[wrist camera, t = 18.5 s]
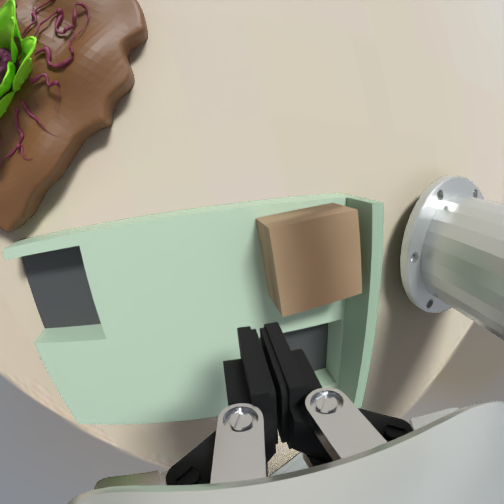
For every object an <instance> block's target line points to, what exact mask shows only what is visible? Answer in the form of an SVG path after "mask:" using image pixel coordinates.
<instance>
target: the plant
mask: <svg viewBox="0 0 504 504" xmlns="http://www.w3.org/2000/svg"><path fill="white" fill-rule="evenodd" d="M147 38H148V31H147V25H146V21H145V18H144V14H143V12H142V9H141V7H140V5H139V3H138V2H137V0H0V227H1V228H2V229H3V230H5V231H6V232H9V231H12V230H15V229H18V228H20V227H21V226H22V225H23V224H24V223H25V222H26V221H27V220H28V219H29V218H31V217H32V216H33V215H34V214H35V213H36V211H37V209H38V208H39V205H40V203H41V201H42V199H43V197H44V195H45V194H46V192H47V191H48V189H49V188H50V187H51V186H52V185H53V184H54V183H55V182H56V181H57V180H59V179H60V178H61V177H62V175H63V174H64V173H65V171H66V170H67V168H68V167H69V165H70V163H71V162H72V160H73V158H74V157H75V155H76V154H77V152H78V151H79V149H80V148H81V146H82V145H83V143H84V142H85V141H86V140H87V139H88V138H89V137H90V136H91V135H93V134H94V133H96V132H98V131H99V130H101V129H104V128H106V127H109V126H111V125H112V124H113V111H114V107H115V106H116V104H117V102H118V101H119V100H120V99H121V98H122V97H123V96H124V95H125V94H127V93H128V92H129V91H130V90H131V88H132V87H133V85H134V74H133V71H132V69H131V66H130V64H129V54H130V52H131V51H132V50H133V49H134V48H136V47H138V46H139V45H141V44H142V43H144V42H145V41H146V40H147Z"/></svg>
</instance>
